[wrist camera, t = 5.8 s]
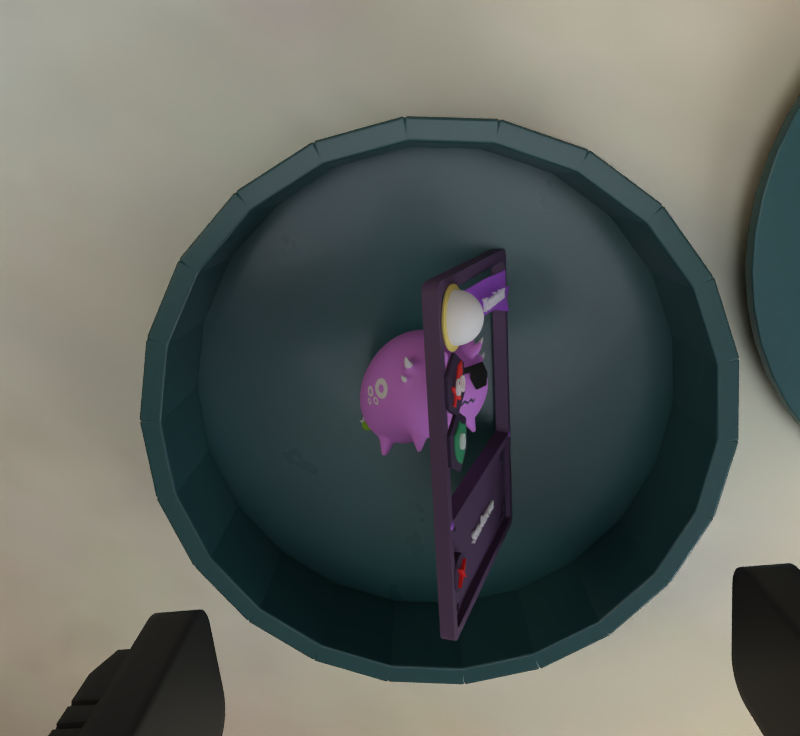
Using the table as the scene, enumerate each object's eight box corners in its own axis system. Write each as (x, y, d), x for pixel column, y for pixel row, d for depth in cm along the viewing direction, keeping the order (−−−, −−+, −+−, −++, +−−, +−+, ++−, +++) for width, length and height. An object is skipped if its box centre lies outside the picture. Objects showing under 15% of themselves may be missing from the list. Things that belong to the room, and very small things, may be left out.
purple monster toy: (484, 650, 18) (470, 282, 15) (296, 616, 19) (257, 284, 17) (534, 524, 24) (530, 247, 21) (387, 507, 25) (368, 251, 23)
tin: (230, 634, 26) (201, 707, 22) (135, 158, 21) (80, 155, 18) (692, 593, 25) (737, 662, 21) (687, 91, 21) (742, 75, 17)
